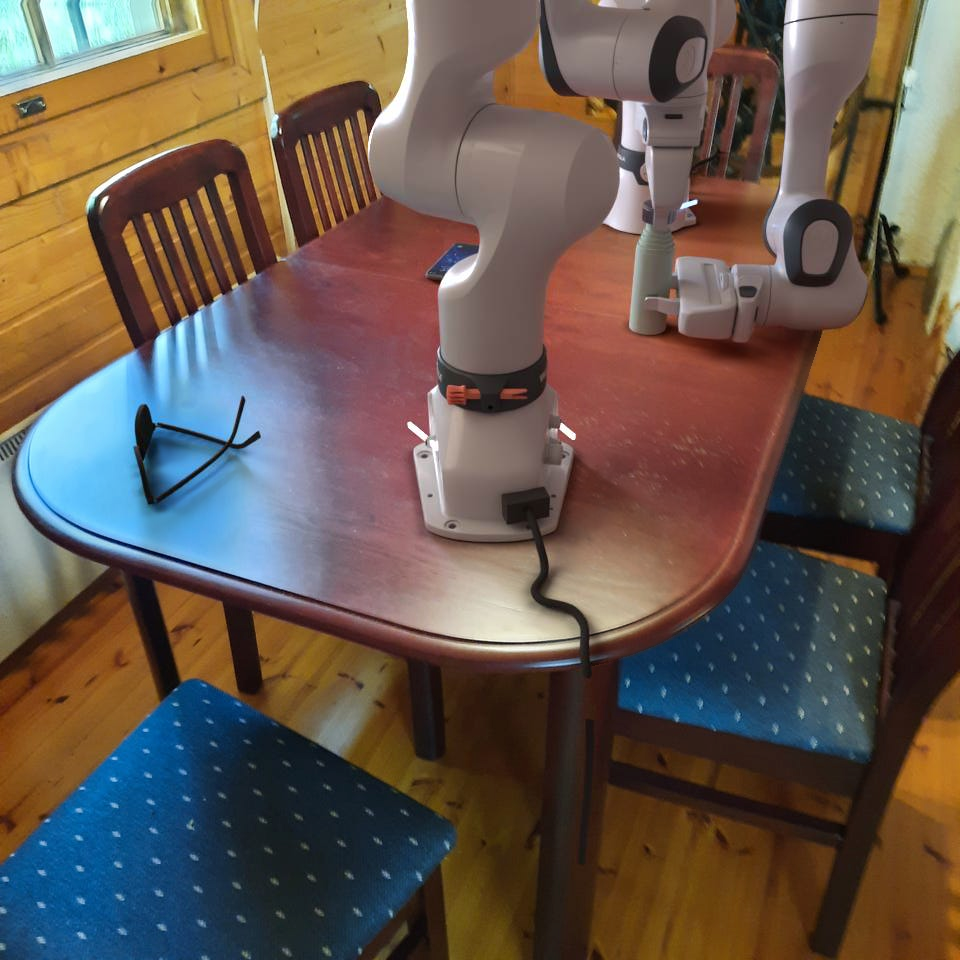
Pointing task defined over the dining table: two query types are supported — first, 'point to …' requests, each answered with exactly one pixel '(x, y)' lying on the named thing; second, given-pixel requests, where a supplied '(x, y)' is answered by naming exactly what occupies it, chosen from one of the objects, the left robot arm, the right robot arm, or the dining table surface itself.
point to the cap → (649, 213)
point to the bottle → (651, 278)
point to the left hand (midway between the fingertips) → (658, 221)
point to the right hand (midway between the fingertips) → (644, 292)
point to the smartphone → (451, 259)
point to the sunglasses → (147, 427)
